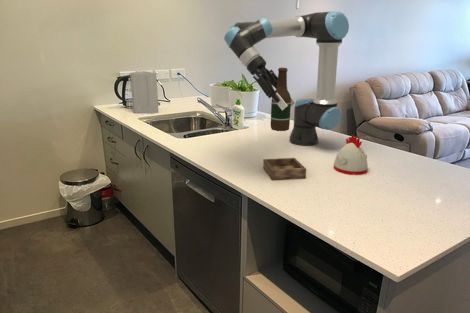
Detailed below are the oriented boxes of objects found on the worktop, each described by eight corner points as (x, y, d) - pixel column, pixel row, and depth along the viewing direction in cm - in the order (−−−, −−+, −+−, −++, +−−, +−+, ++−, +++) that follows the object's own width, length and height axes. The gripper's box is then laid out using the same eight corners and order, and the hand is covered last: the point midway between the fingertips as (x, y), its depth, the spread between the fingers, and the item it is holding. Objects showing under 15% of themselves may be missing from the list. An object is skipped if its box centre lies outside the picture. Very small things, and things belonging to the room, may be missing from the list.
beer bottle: (291, 127, 148) (295, 67, 140) (287, 132, 141) (290, 69, 133) (272, 125, 150) (275, 66, 142) (267, 130, 143) (270, 68, 135)
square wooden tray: (293, 166, 158) (294, 157, 157) (305, 178, 145) (306, 168, 144) (263, 168, 156) (263, 159, 155) (272, 180, 143) (272, 170, 142)
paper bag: (128, 111, 266) (124, 72, 257) (146, 108, 276) (143, 71, 266) (140, 115, 253) (137, 74, 244) (159, 112, 262) (156, 73, 253)
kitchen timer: (349, 177, 147) (353, 142, 142) (326, 166, 159) (330, 133, 154) (374, 171, 153) (379, 137, 148) (350, 162, 165) (354, 130, 160)
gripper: (258, 66, 153) (292, 107, 151) (234, 70, 137) (271, 117, 134) (270, 53, 149) (305, 96, 147) (247, 56, 132) (285, 104, 130)
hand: (289, 106), depth 141 cm, fingers closed on beer bottle, 8 cm apart
